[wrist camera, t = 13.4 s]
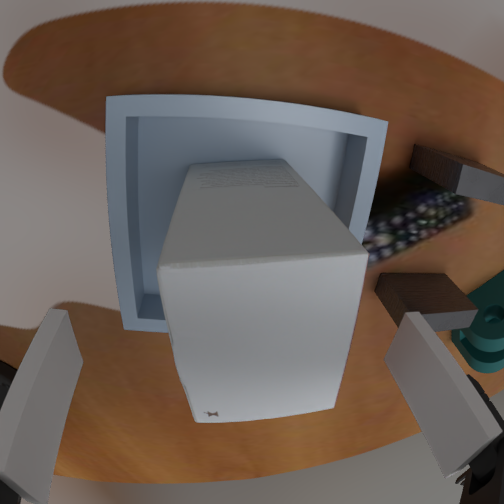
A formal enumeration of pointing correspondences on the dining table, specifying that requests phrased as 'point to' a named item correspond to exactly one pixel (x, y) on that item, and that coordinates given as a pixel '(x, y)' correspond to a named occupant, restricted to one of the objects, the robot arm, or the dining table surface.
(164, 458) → the dining table surface
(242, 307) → the small box
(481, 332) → the bracket
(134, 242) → the tray
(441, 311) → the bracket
